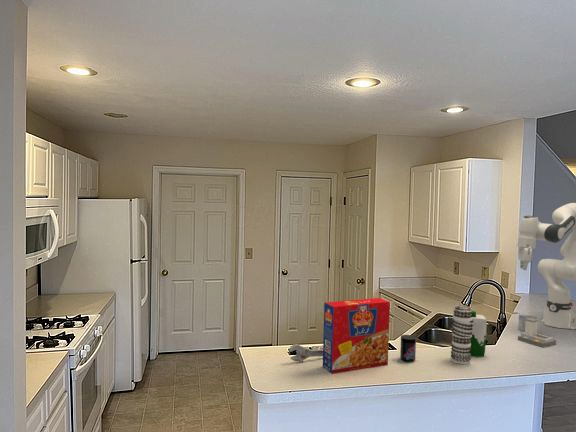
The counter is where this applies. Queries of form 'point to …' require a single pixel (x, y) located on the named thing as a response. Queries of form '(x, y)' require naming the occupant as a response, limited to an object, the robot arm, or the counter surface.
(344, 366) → the pasta box
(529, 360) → the counter surface
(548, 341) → the switch panel
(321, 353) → the wrench
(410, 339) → the supplement container
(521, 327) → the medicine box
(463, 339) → the leaning tower model
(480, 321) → the milk carton
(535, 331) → the switch tab
